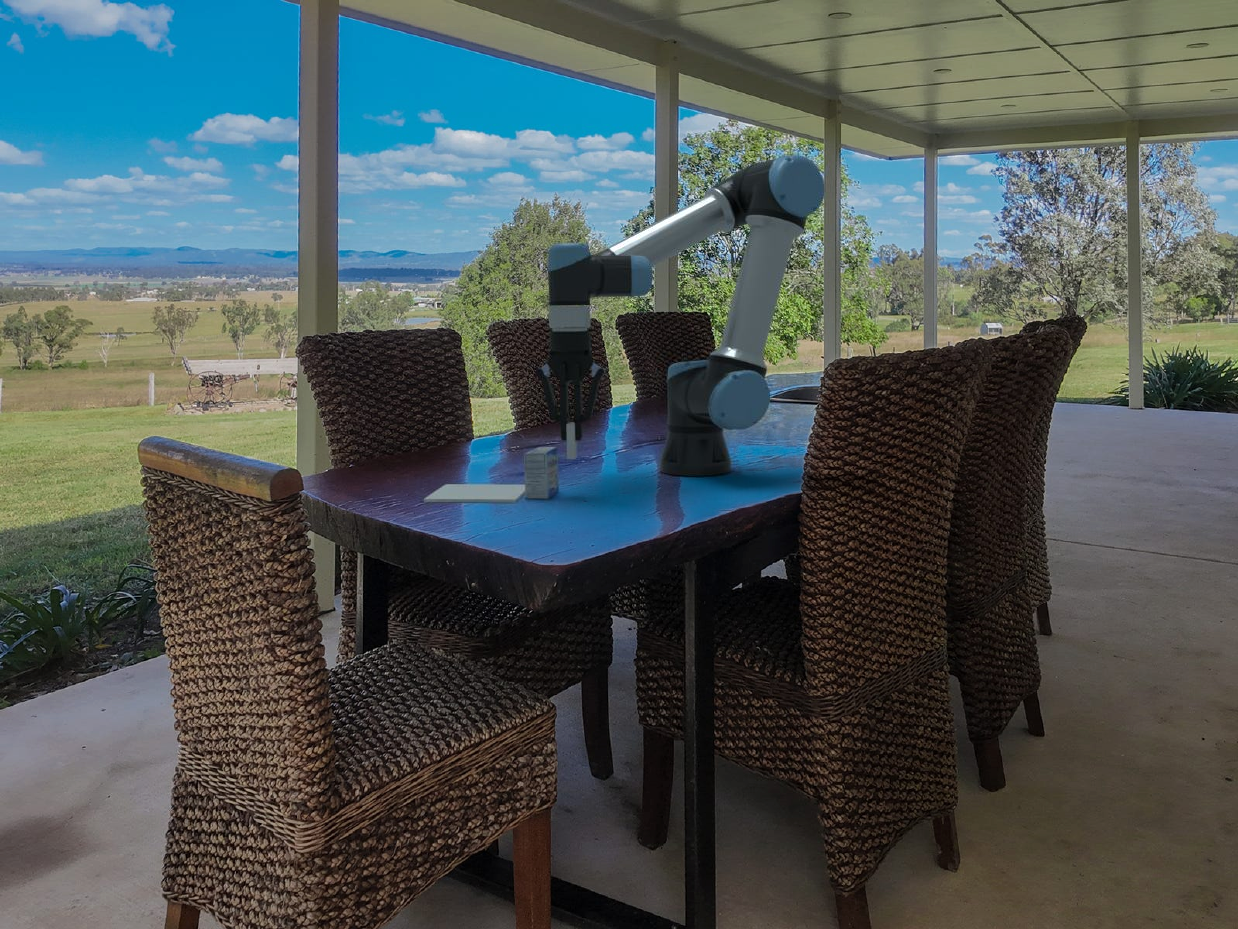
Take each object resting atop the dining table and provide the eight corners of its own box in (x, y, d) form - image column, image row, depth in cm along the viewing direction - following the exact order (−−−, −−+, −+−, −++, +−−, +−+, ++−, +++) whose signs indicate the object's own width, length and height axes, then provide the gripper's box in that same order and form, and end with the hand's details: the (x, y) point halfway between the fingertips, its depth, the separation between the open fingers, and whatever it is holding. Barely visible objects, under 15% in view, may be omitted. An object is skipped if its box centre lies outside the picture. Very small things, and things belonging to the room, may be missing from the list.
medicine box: (548, 499, 186) (547, 452, 185) (524, 499, 187) (523, 452, 186) (559, 491, 194) (558, 446, 192) (536, 491, 195) (535, 446, 193)
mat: (531, 487, 198) (531, 484, 198) (515, 502, 183) (515, 499, 183) (445, 487, 200) (445, 484, 200) (424, 502, 185) (423, 499, 185)
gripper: (607, 329, 188) (609, 455, 192) (538, 329, 189) (540, 454, 193) (603, 330, 181) (604, 461, 184) (530, 330, 182) (533, 461, 186)
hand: (572, 457), depth 189 cm, fingers closed
